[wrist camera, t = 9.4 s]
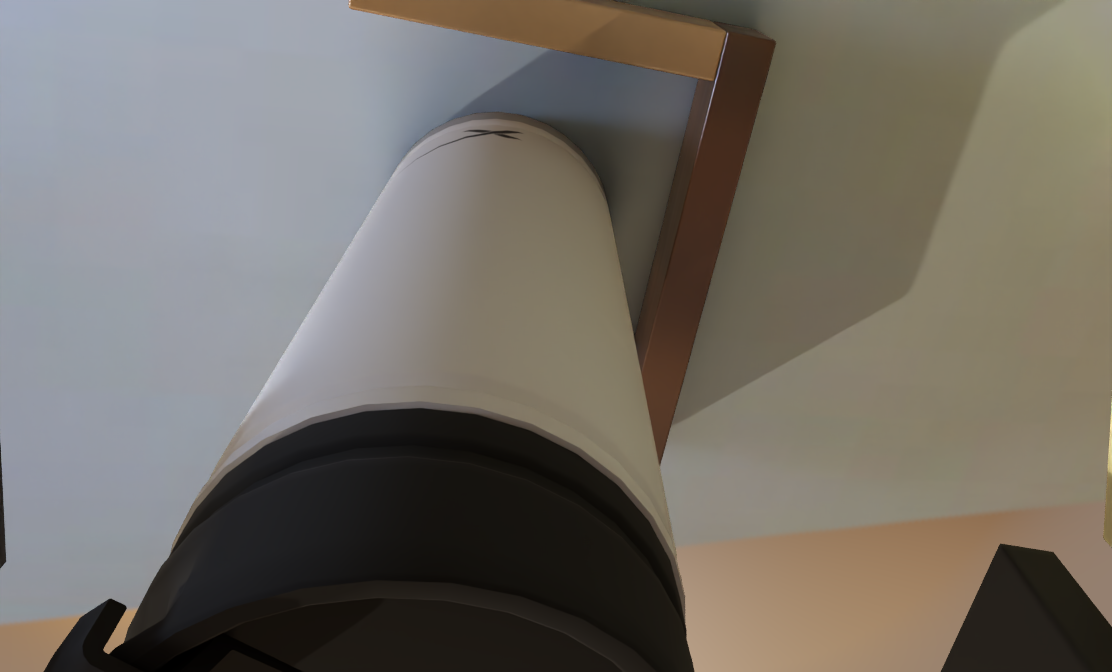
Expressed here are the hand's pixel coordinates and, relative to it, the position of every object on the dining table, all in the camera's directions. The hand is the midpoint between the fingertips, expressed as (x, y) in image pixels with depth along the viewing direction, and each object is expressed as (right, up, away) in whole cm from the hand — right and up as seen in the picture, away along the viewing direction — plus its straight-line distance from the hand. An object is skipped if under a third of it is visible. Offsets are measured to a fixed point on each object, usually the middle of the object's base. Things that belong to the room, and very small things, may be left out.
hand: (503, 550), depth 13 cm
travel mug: (-1, +6, +14) cm, 16 cm away
